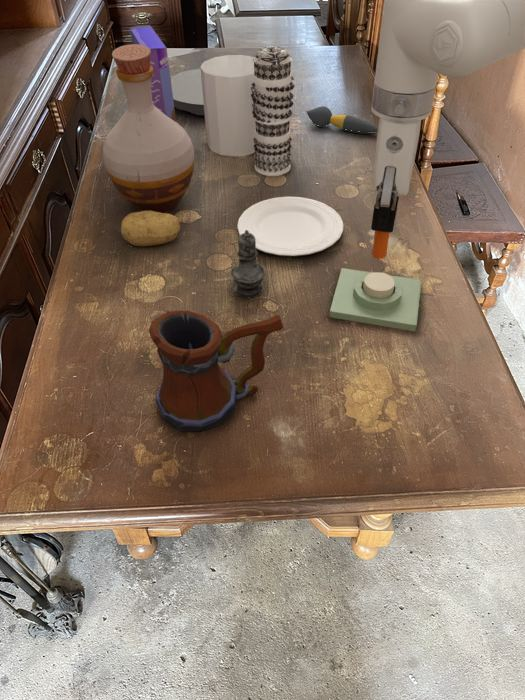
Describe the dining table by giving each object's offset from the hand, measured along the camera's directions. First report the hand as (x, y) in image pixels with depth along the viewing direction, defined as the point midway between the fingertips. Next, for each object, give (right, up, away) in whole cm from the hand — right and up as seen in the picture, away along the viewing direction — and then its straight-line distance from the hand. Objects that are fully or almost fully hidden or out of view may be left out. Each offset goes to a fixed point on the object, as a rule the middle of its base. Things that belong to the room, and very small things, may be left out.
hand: (383, 224), depth 81 cm
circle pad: (+1, -9, +9) cm, 13 cm away
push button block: (+1, -11, +11) cm, 15 cm away
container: (-25, +33, +54) cm, 68 cm away
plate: (-13, +4, +26) cm, 29 cm away
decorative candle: (-16, +24, +45) cm, 53 cm away
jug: (-41, +13, +35) cm, 55 cm away
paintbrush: (+2, +38, +59) cm, 70 cm away
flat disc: (-32, +52, +73) cm, 95 cm away
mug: (-24, -26, -3) cm, 36 cm away
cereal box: (-43, +33, +55) cm, 77 cm away
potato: (-39, +2, +24) cm, 46 cm away
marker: (0, -4, +4) cm, 6 cm away
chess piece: (-21, -8, +14) cm, 26 cm away
